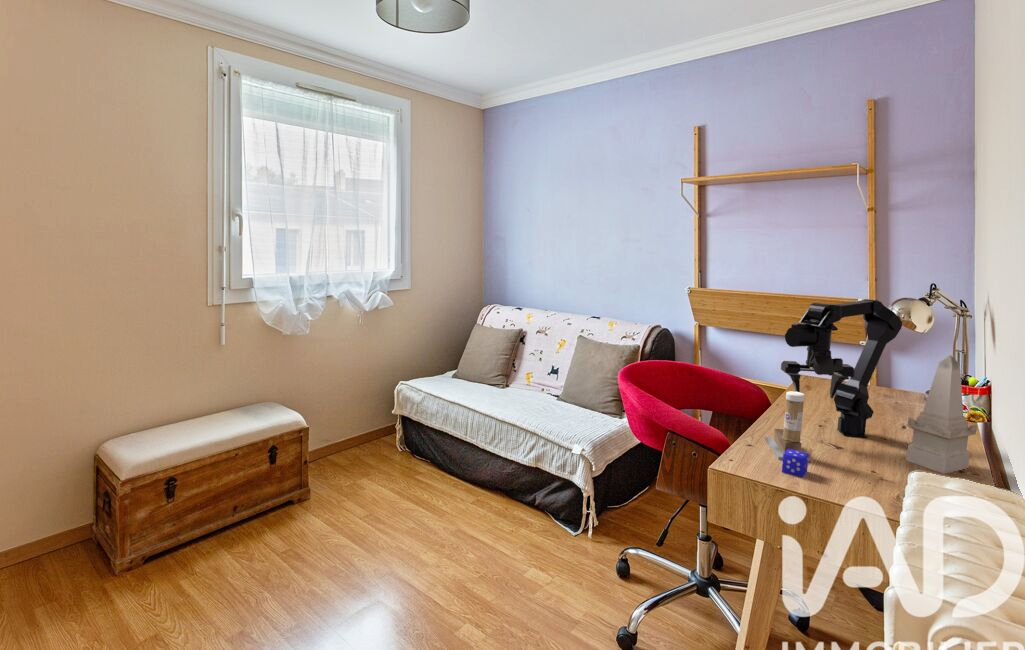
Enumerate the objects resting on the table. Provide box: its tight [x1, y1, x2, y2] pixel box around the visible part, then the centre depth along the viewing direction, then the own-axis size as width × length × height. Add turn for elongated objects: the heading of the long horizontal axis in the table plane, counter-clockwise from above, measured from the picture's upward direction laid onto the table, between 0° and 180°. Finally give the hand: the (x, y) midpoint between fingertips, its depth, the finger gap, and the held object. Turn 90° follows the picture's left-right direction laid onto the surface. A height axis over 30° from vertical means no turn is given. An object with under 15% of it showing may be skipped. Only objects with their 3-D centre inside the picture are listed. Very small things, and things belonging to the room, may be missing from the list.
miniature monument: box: [905, 354, 978, 475], centre depth 145 cm, size 10×10×30 cm
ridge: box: [764, 428, 812, 463], centre depth 156 cm, size 8×16×4 cm, turn 168°
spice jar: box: [783, 390, 806, 442], centre depth 151 cm, size 5×5×14 cm
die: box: [781, 449, 810, 478], centre depth 141 cm, size 5×5×5 cm
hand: (814, 396), depth 164 cm, fingers open, 9 cm apart
